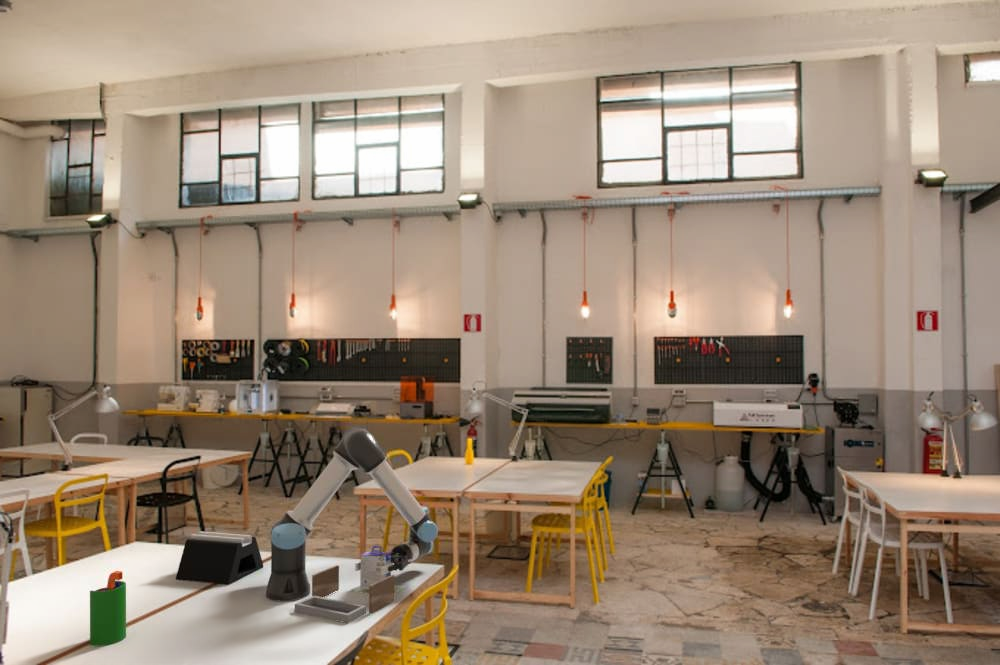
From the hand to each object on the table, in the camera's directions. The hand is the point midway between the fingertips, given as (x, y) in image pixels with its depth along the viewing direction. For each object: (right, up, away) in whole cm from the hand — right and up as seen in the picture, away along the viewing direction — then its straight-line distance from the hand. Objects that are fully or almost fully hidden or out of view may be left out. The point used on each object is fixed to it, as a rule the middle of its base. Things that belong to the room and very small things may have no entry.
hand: (368, 569), depth 262 cm
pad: (+3, -9, +6) cm, 11 cm away
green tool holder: (-70, -8, -40) cm, 81 cm away
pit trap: (-9, -9, -18) cm, 22 cm away
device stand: (-61, -10, +23) cm, 66 cm away
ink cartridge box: (+2, -8, +4) cm, 9 cm away
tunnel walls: (-4, -9, -7) cm, 12 cm away
